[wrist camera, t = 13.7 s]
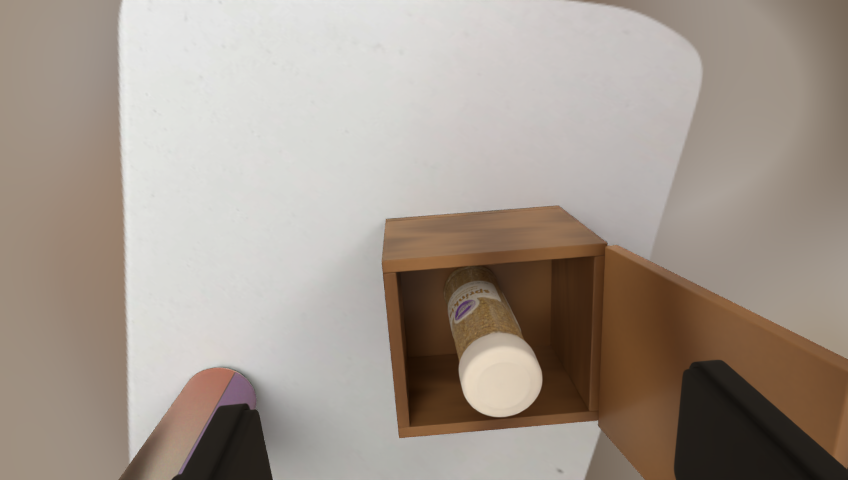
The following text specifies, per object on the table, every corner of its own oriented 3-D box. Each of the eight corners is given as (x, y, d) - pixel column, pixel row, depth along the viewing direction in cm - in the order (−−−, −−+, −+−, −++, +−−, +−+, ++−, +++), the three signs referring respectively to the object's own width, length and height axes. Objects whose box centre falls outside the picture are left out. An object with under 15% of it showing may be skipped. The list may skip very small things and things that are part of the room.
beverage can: (270, 382, 43) (206, 531, 29) (239, 434, 45) (164, 600, 30) (205, 351, 42) (105, 490, 28) (175, 405, 43) (65, 563, 29)
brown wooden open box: (399, 361, 43) (399, 438, 34) (385, 218, 39) (381, 260, 30) (557, 348, 44) (600, 420, 34) (558, 205, 40) (607, 242, 30)
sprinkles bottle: (462, 253, 40) (492, 334, 27) (510, 280, 41) (561, 372, 28) (431, 299, 41) (446, 398, 28) (478, 325, 42) (513, 433, 29)
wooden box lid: (792, 650, 20) (897, 615, 21) (850, 373, 16) (973, 346, 17) (597, 426, 34) (666, 410, 35) (604, 246, 30) (682, 234, 31)
